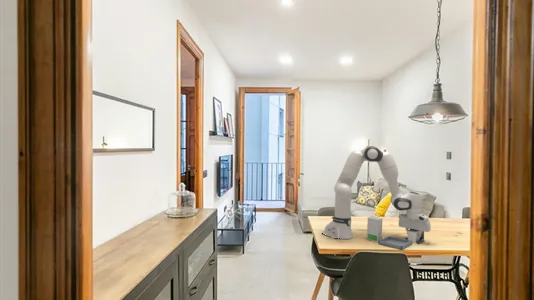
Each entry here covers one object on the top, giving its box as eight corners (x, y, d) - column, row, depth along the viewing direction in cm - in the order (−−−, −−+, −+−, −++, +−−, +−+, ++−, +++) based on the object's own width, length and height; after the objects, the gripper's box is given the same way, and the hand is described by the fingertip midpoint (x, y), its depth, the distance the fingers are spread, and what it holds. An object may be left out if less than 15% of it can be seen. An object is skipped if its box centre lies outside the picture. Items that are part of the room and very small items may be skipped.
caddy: (407, 241, 206) (407, 230, 206) (412, 239, 212) (412, 228, 212) (415, 243, 202) (415, 231, 202) (420, 241, 208) (420, 229, 208)
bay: (404, 241, 207) (404, 226, 207) (410, 238, 214) (410, 224, 214) (418, 244, 201) (418, 229, 200) (424, 241, 208) (424, 226, 208)
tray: (378, 244, 201) (378, 240, 201) (388, 239, 211) (388, 235, 211) (402, 250, 189) (402, 246, 189) (412, 244, 200) (412, 240, 200)
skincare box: (366, 239, 210) (366, 217, 210) (371, 237, 215) (371, 215, 215) (378, 242, 205) (378, 219, 204) (382, 240, 209) (382, 217, 209)
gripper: (397, 213, 212) (396, 233, 212) (428, 218, 197) (428, 239, 197) (400, 212, 217) (400, 231, 217) (431, 217, 202) (431, 237, 202)
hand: (413, 235), depth 207 cm, fingers open, 5 cm apart
